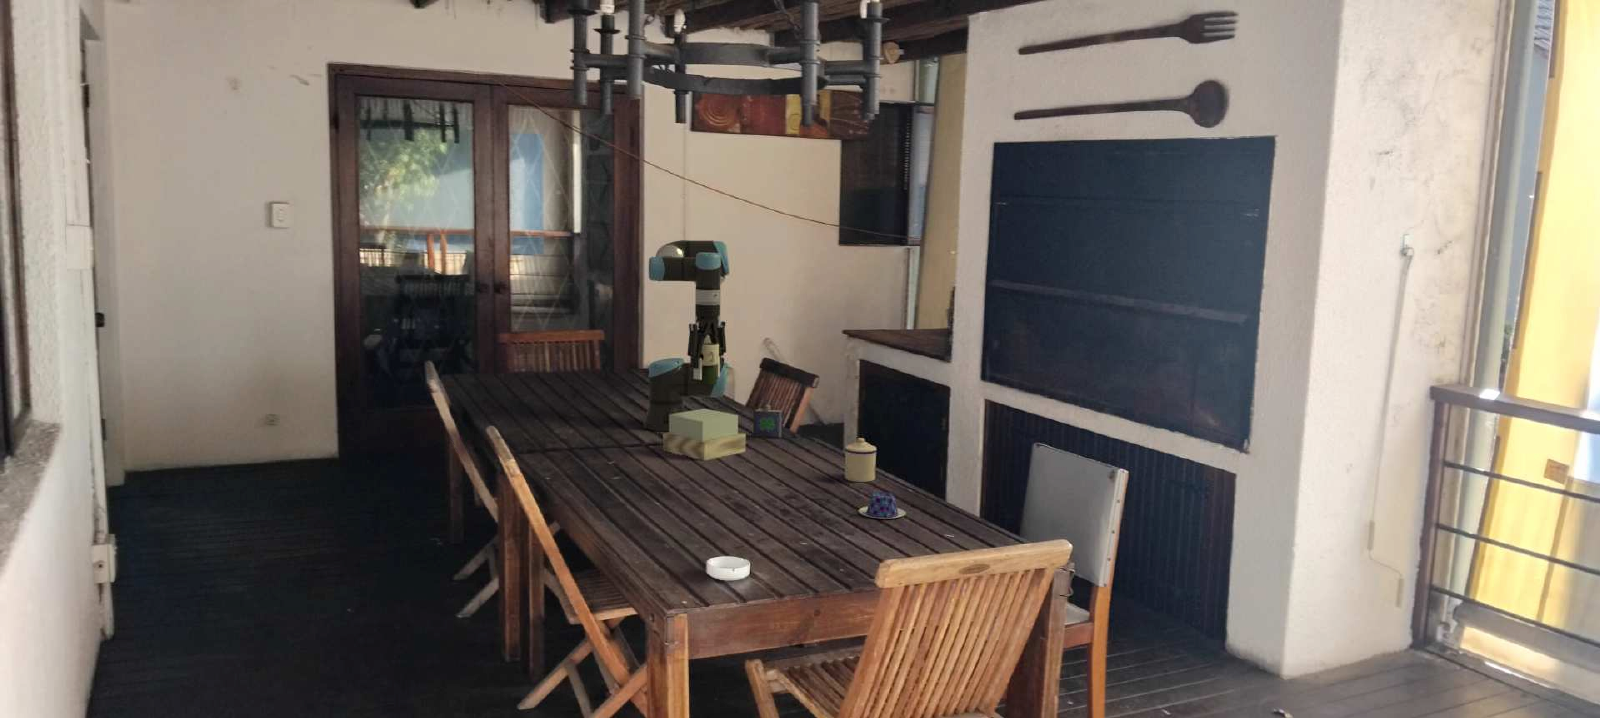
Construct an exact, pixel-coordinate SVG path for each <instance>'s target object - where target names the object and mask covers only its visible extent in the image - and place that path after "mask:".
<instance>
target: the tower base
mask: <svg viewBox="0 0 1600 718" xmlns="http://www.w3.org/2000/svg"><path fill="white" fill-rule="evenodd" d="M662 436H663V437H662V439H663V440H662V441H663V443H662V444H663V445H662V447H663V448H662V449H663V450H665V451H668V452H667V453H669V452H672V453H671V454H674V453H675V455H678V454H679V456H682V455H685V456H684V457H687V456H688V458H691V457H692V459H694V460H695V459H696V460H700V461H704V460H705V461H708V460H713V459H718V458H722V456H723V457H727V456H731V455H735V454H740V453H741V454H742V453H744V452H746V439H747V437H746V433H741V432H738V434H737V435H732V436H727V437H722V438H717V439H711V440H706V441H699V440H695V439H691V438H686V437H682V436H677V435H673V434H669V432H666V433H663V434H662ZM663 450H662V451H663ZM665 451H664V452H665Z"/></svg>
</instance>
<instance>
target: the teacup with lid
mask: <svg viewBox="0 0 1600 718" xmlns="http://www.w3.org/2000/svg"><path fill="white" fill-rule="evenodd" d="M844 451H845V452H844V453H845V457H844V459H845V460H844V461H845V462H844V479H846V481H847V480H848V481H850V482H854V483H855V482H856V483H868V482H872V481H874V480H875V479H876V461H877V459H876V458H877V457H876V456H877V451H878V450H877V447H876V446H875V445H871V444H870V443H868V442H867V441H865V438H863V437H862V438H861V437H858V438H857V441H855V442H853V443H851V444H848V445H846V446H845V447H844Z"/></svg>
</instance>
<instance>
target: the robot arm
mask: <svg viewBox="0 0 1600 718" xmlns="http://www.w3.org/2000/svg"><path fill="white" fill-rule="evenodd" d="M728 255H729V254H728V248H727V245H726V243H725V242H724V241H721V240H712V239H711V240H689V239H688V240H686V239H684V240H683V239H681V240H675V241H671V242H669V243H666V244H664V245H662V246H660V247H659V249H658V250H657V251H656V253H655V256H650V257H649V259H648V279H649V280H650V281H653V282H693V283H694V284H695V295H694V296H695V297H694V298H695V301H694V302H695V305H694V310H695V311H694V313H695V315H694V317H695V318H694V322H693V323H689V324H688V329H689V332H688V333H689V335H688V344H687V352H686V353H687V355H686V356H689V359H690V360H689V361H690V362H685V359H684V358H682V357H672V358H671V357H669V358H663V359H659V360H655V361H653V362H651V363H650V365H649V370H648V371H649V372H648V379H649V380H648V382H649V383H648V384H649V385H648V390H649V391H648V408H647V410H646V413H645V414H646V415H645V418H644V419H643V428H644V429H645V430H650V431H656V432H669V415H670V414H676V413H682V412H686V409H685V405H684V398H721V397H722V396H724V395H725V393H726V388H727V387H726V386H727V380H728V371H729V363H727V362H725V357H724V355H725V353H727V346H726V345H727V343H726V331H725V329H726V323H727V322H726V321H723V320H722V321H721V292H722V291H721V286H722V284H723V283H724V282H725V280H726V276H728V275H730V265H729V263H730V262H729V256H728ZM704 343H713V344H719V363H718V364H717V365H714V367H715V370H716V378H717V384H711V385H710V386H709V387H708V385H698V383H697V379H699V380H701V379H702V358H700V355H701V351H702V345H703V344H704ZM696 353H697V354H696Z"/></svg>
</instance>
